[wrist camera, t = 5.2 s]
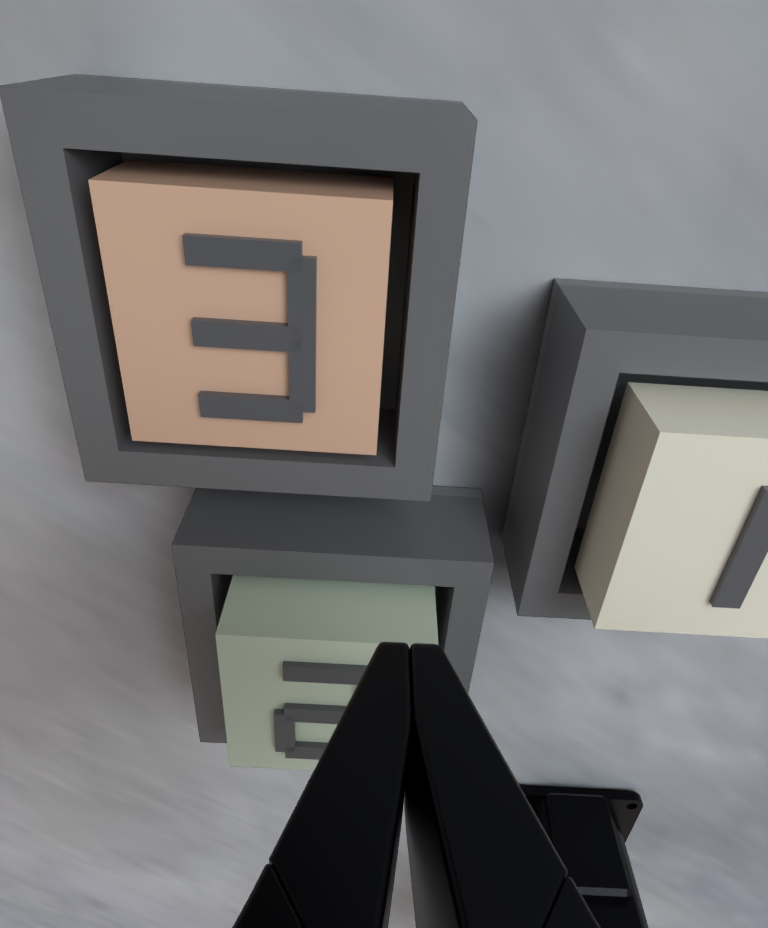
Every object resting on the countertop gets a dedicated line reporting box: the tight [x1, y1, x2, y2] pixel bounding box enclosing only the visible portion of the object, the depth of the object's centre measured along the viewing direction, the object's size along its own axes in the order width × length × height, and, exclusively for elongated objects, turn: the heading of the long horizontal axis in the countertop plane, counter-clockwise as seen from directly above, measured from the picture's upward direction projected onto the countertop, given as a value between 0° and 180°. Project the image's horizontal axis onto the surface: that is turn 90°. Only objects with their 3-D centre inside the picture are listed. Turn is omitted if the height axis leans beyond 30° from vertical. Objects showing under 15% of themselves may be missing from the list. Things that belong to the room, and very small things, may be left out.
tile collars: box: [0, 74, 768, 743], centre depth 20 cm, size 20×21×4 cm
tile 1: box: [574, 382, 768, 638], centre depth 17 cm, size 6×6×3 cm
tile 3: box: [88, 159, 393, 455], centre depth 16 cm, size 6×6×3 cm
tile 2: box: [215, 575, 439, 771], centre depth 21 cm, size 6×6×3 cm
